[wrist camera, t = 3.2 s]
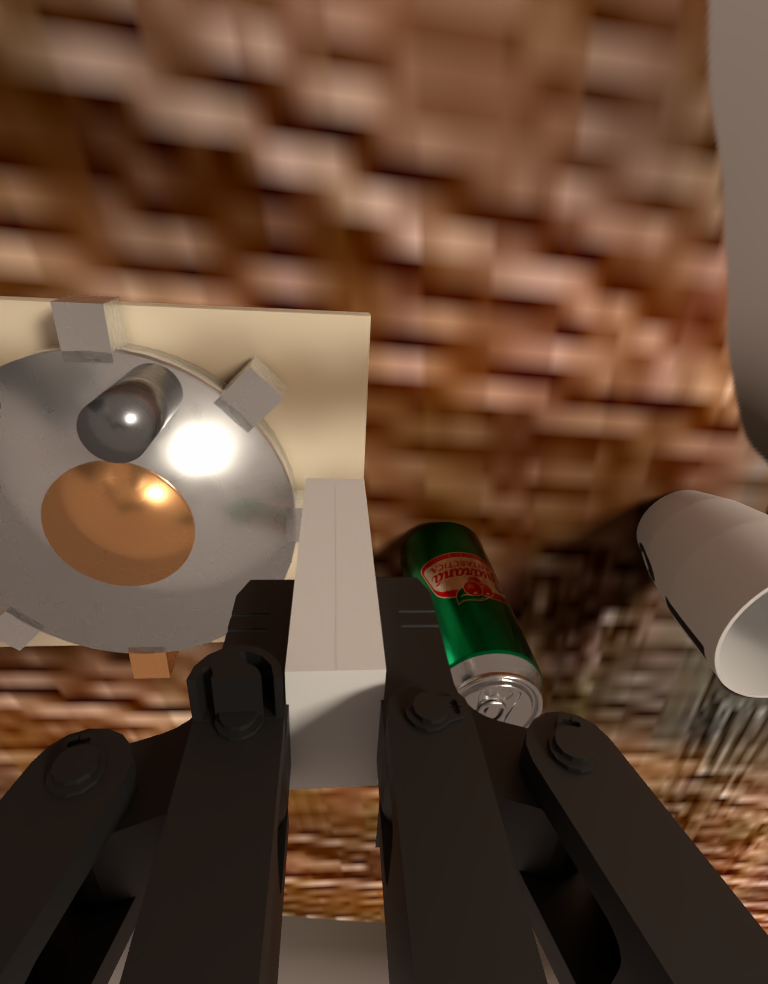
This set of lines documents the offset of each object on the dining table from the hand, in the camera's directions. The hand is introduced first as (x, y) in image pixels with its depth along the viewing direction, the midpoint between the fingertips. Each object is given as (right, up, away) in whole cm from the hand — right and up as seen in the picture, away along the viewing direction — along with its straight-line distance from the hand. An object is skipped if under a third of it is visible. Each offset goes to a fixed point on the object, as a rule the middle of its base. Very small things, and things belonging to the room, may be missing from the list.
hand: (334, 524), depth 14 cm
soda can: (+5, -3, +19) cm, 19 cm away
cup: (+20, -1, +19) cm, 28 cm away
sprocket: (-12, 0, +14) cm, 18 cm away
